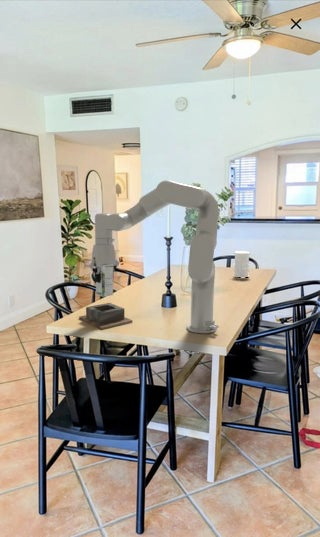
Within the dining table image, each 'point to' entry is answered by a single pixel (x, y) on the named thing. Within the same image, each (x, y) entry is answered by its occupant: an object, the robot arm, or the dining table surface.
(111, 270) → the syrup box
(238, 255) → the decorative container
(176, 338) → the dining table surface
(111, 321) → the socket stand
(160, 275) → the dining table surface
